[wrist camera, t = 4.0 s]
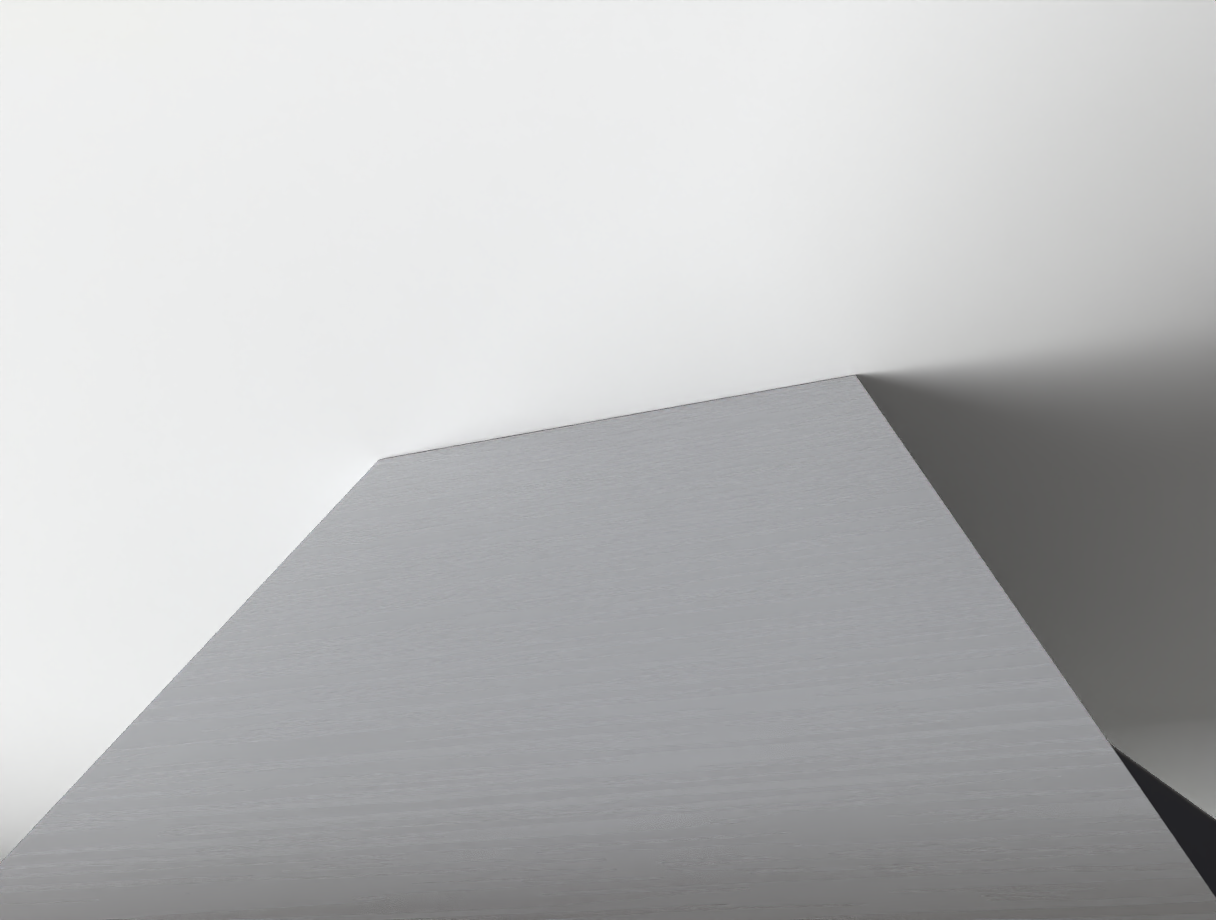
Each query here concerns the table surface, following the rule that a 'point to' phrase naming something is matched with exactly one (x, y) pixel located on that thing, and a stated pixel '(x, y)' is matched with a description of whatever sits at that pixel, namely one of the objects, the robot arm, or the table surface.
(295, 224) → the table surface
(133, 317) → the table surface
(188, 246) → the table surface
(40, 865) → the tin
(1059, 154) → the table surface
